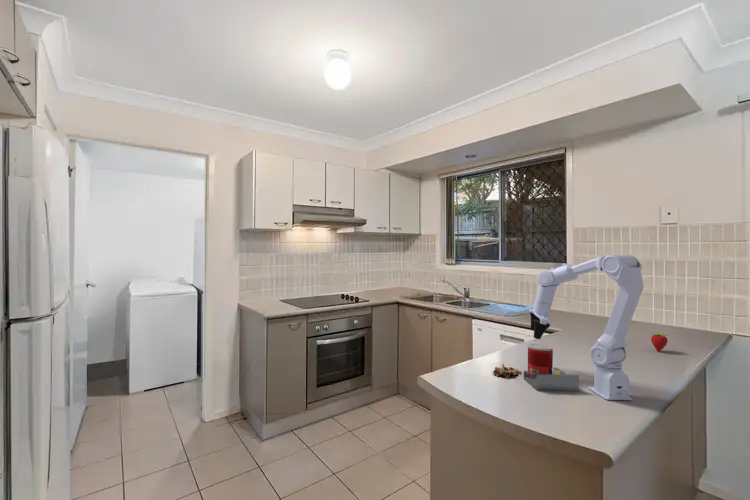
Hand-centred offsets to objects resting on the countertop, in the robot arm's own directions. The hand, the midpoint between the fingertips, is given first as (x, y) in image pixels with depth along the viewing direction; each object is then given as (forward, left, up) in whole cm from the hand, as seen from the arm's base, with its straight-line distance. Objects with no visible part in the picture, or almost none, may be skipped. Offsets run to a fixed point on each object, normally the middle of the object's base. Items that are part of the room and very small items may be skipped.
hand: (535, 334), depth 137 cm
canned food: (-10, +3, -13) cm, 17 cm away
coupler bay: (-16, +3, -13) cm, 20 cm away
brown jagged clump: (-7, +13, -14) cm, 20 cm away
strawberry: (+27, -68, -13) cm, 75 cm away
